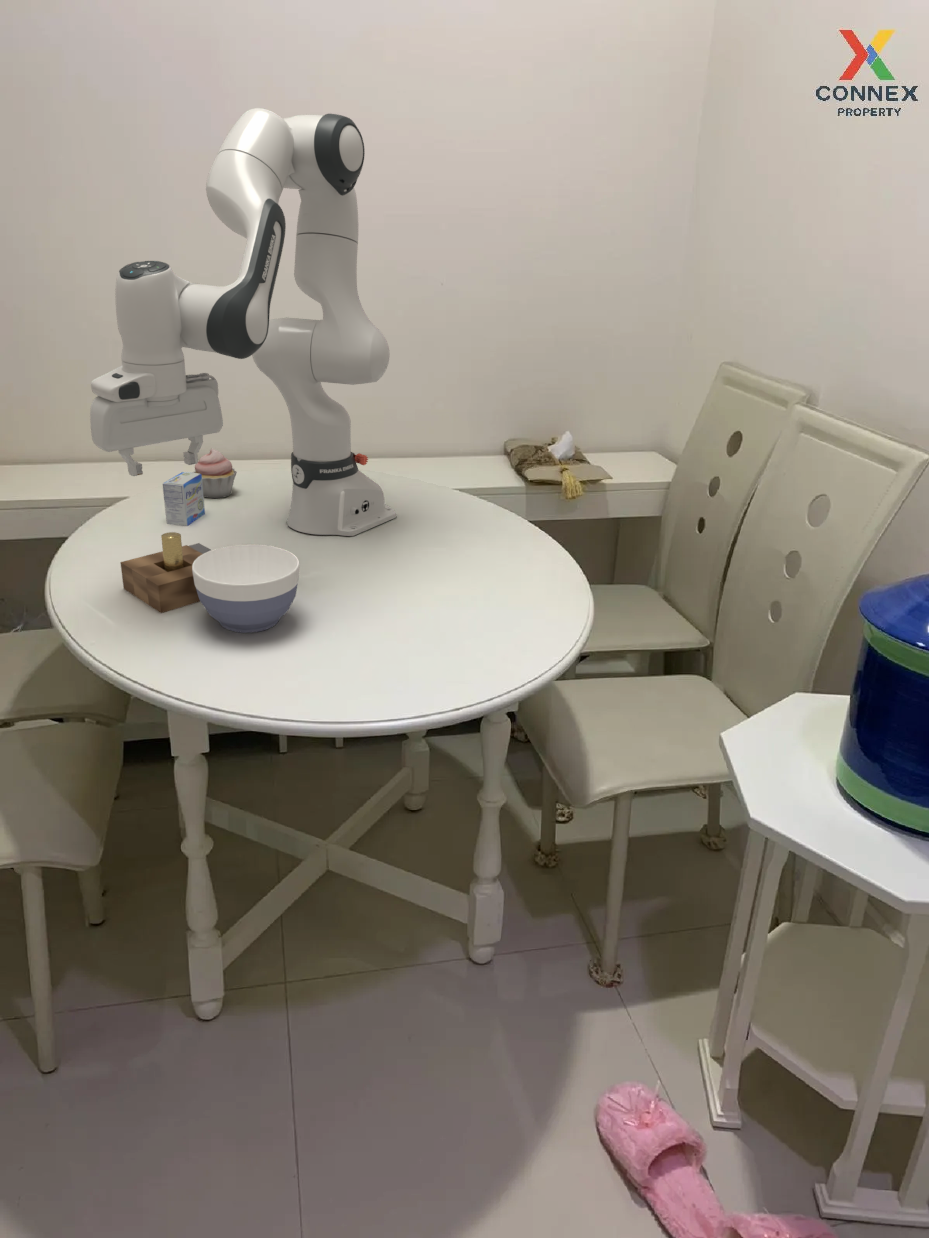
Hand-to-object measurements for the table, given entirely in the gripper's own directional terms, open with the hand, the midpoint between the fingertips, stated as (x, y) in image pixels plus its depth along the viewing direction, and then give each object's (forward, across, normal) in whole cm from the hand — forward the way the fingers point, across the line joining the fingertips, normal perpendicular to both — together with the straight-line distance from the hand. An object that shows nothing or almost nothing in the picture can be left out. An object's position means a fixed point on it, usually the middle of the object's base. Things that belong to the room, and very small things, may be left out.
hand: (164, 469), depth 143 cm
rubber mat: (+21, -9, -12) cm, 26 cm away
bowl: (+21, -3, +16) cm, 27 cm away
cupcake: (+21, -32, -39) cm, 54 cm away
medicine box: (+21, -19, -29) cm, 40 cm away
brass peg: (+21, 0, 0) cm, 21 cm away
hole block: (+21, 0, 0) cm, 21 cm away
